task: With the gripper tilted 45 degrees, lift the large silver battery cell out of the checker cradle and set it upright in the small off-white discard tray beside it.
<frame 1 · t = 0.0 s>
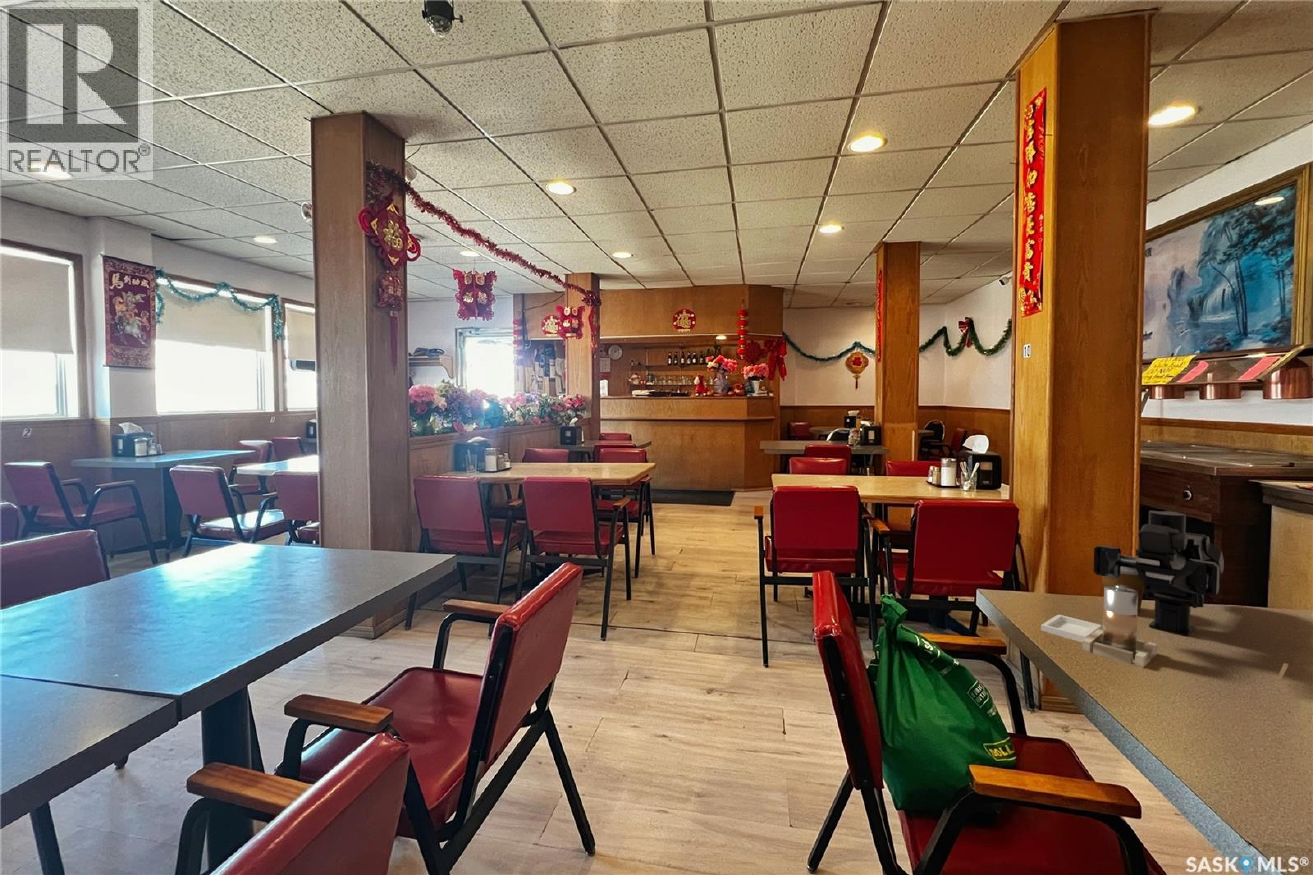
hand: (1140, 576, 106), 17 cm above the table, tool horizontal, fingers open, 9 cm apart
battery cell: (1119, 652, 109), resting on checker cradle
disposable coffee cup: (1122, 610, 133), on the table
discard tray: (1071, 633, 120), on the table
checker cradle: (1119, 654, 109), on the table
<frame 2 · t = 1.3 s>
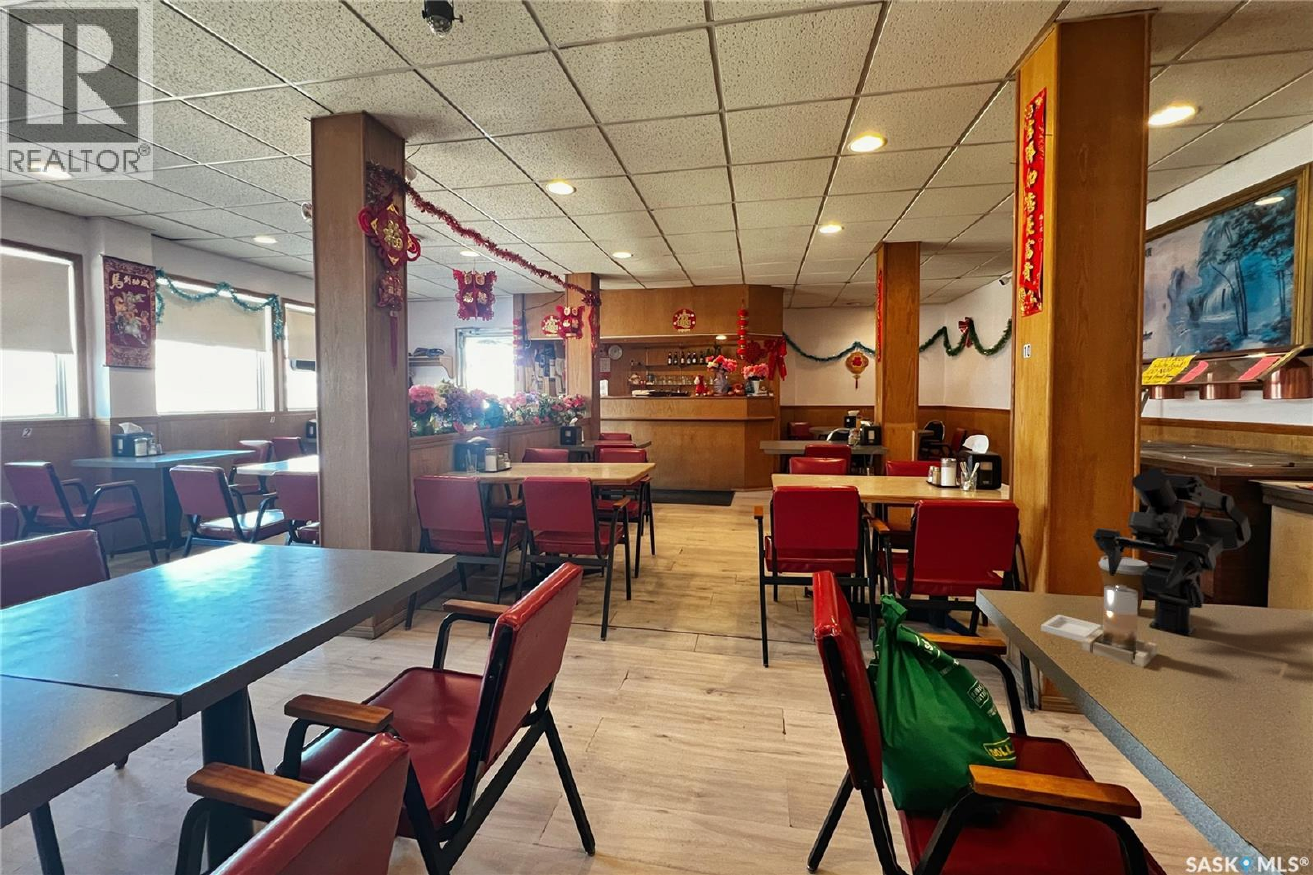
hand: (1138, 580, 112), 14 cm above the table, tool tilted 45°, fingers open, 9 cm apart
nothing on the table moved.
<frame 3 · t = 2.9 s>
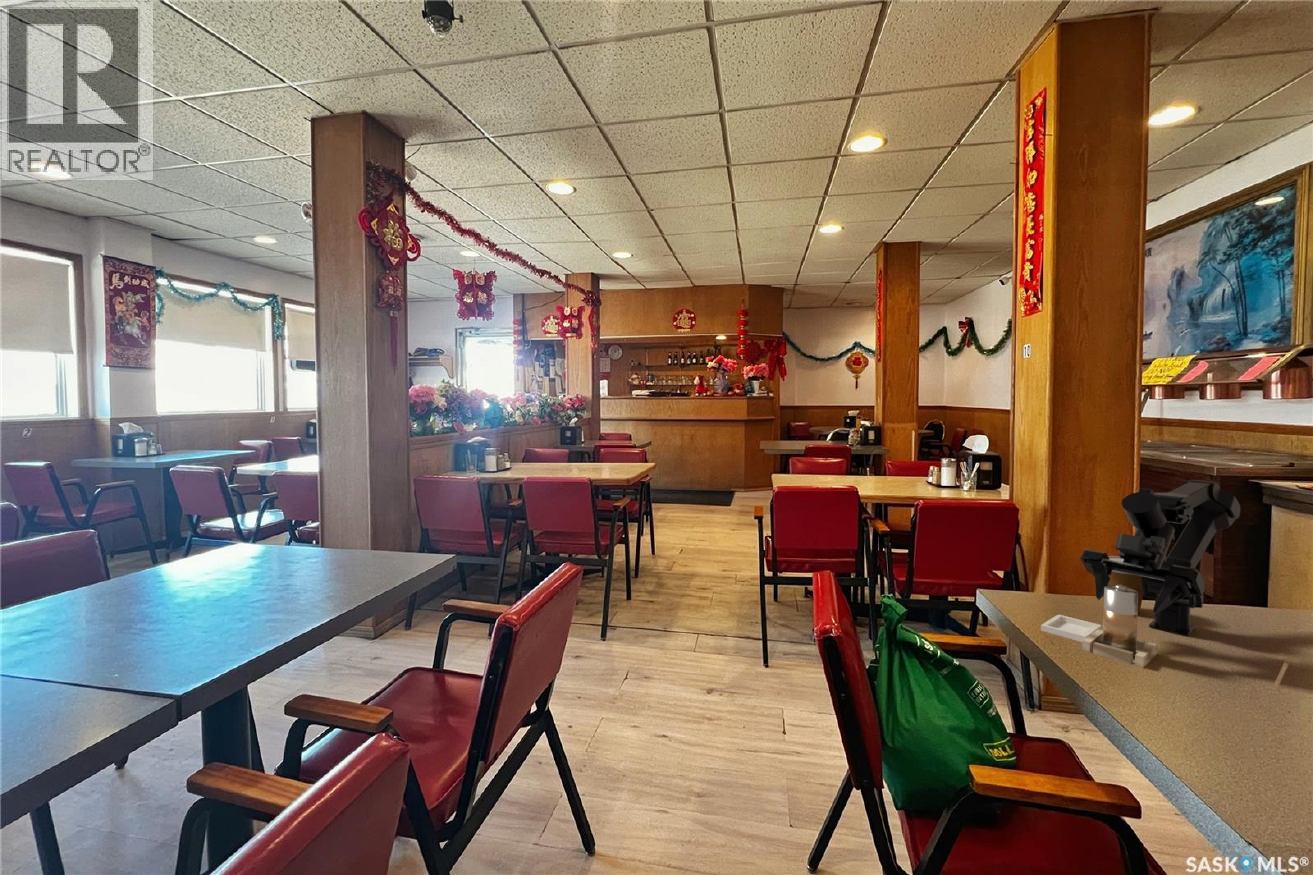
hand: (1125, 605, 110), 10 cm above the table, tool tilted 45°, fingers open, 9 cm apart
nothing on the table moved.
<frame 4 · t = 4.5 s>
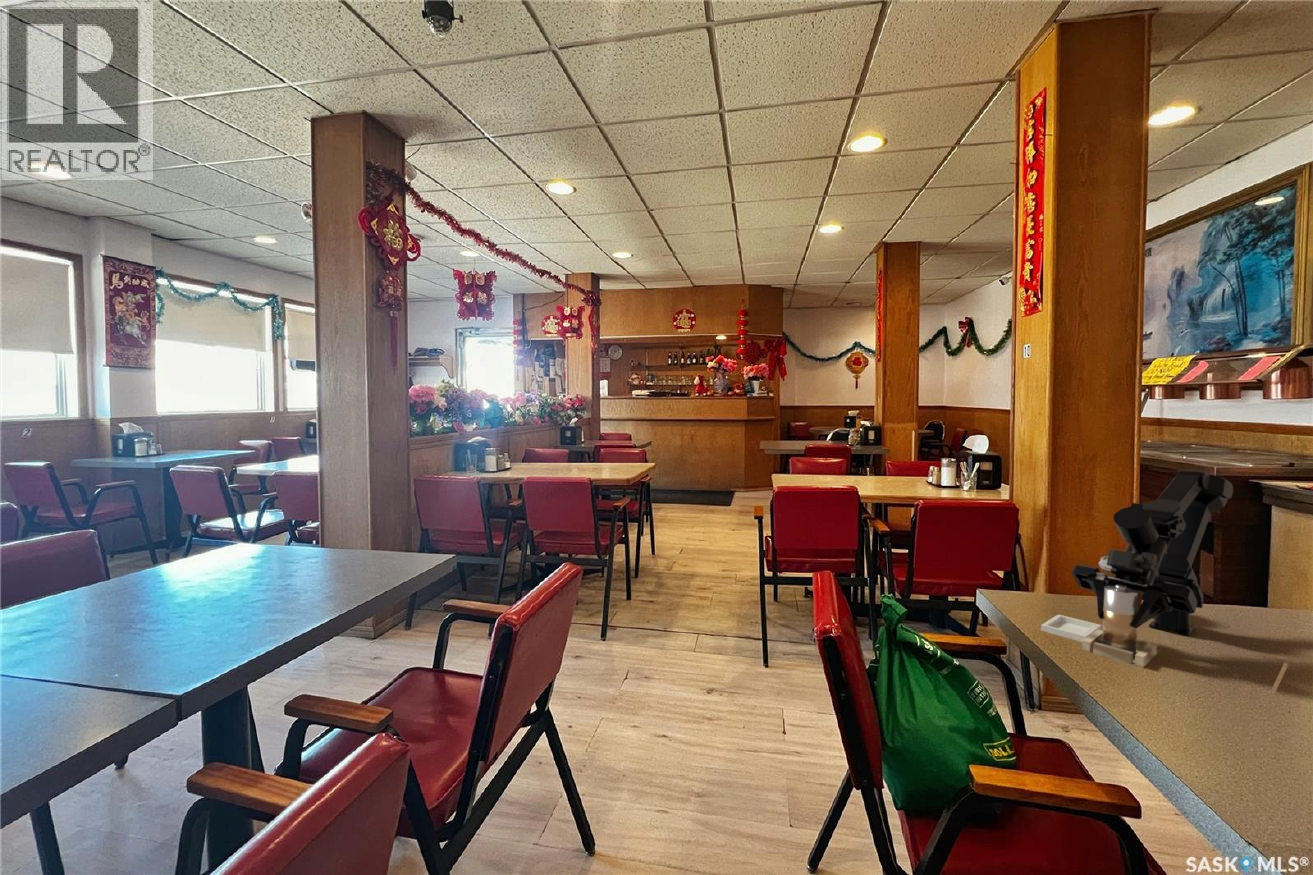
hand: (1116, 622, 108), 7 cm above the table, tool tilted 45°, fingers closed on battery cell, 5 cm apart
battery cell: (1119, 652, 109), point 1 cm above the table, touching checker cradle, gripper
everything else where it was.
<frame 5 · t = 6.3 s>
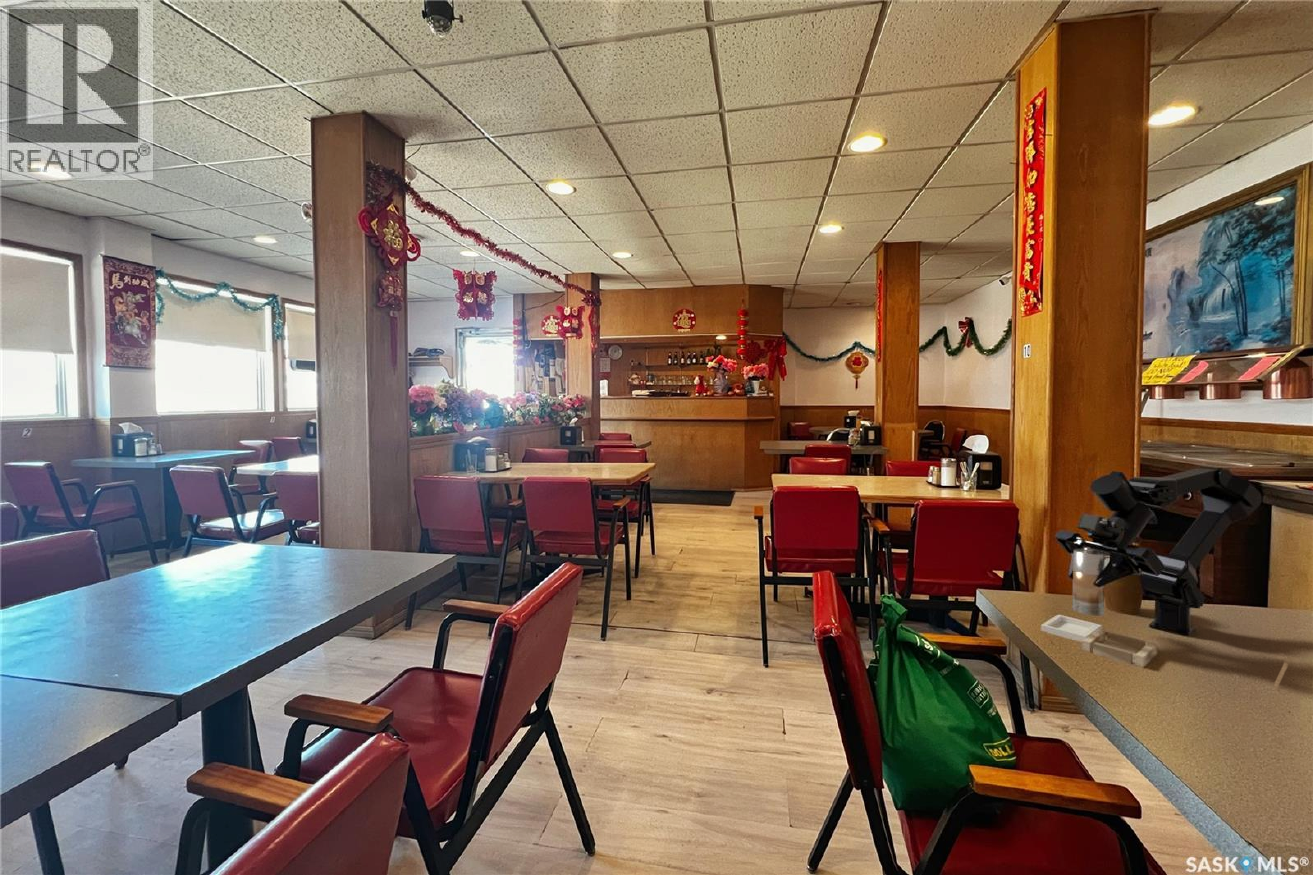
hand: (1083, 581, 114), 13 cm above the table, tool tilted 45°, fingers closed on battery cell, 5 cm apart
battery cell: (1087, 611, 115), point 7 cm above the table, touching gripper
everything else where it was.
when the fingers open (8 cm above the table, at t = 8.2 s): battery cell drops 1 cm, resting on discard tray.
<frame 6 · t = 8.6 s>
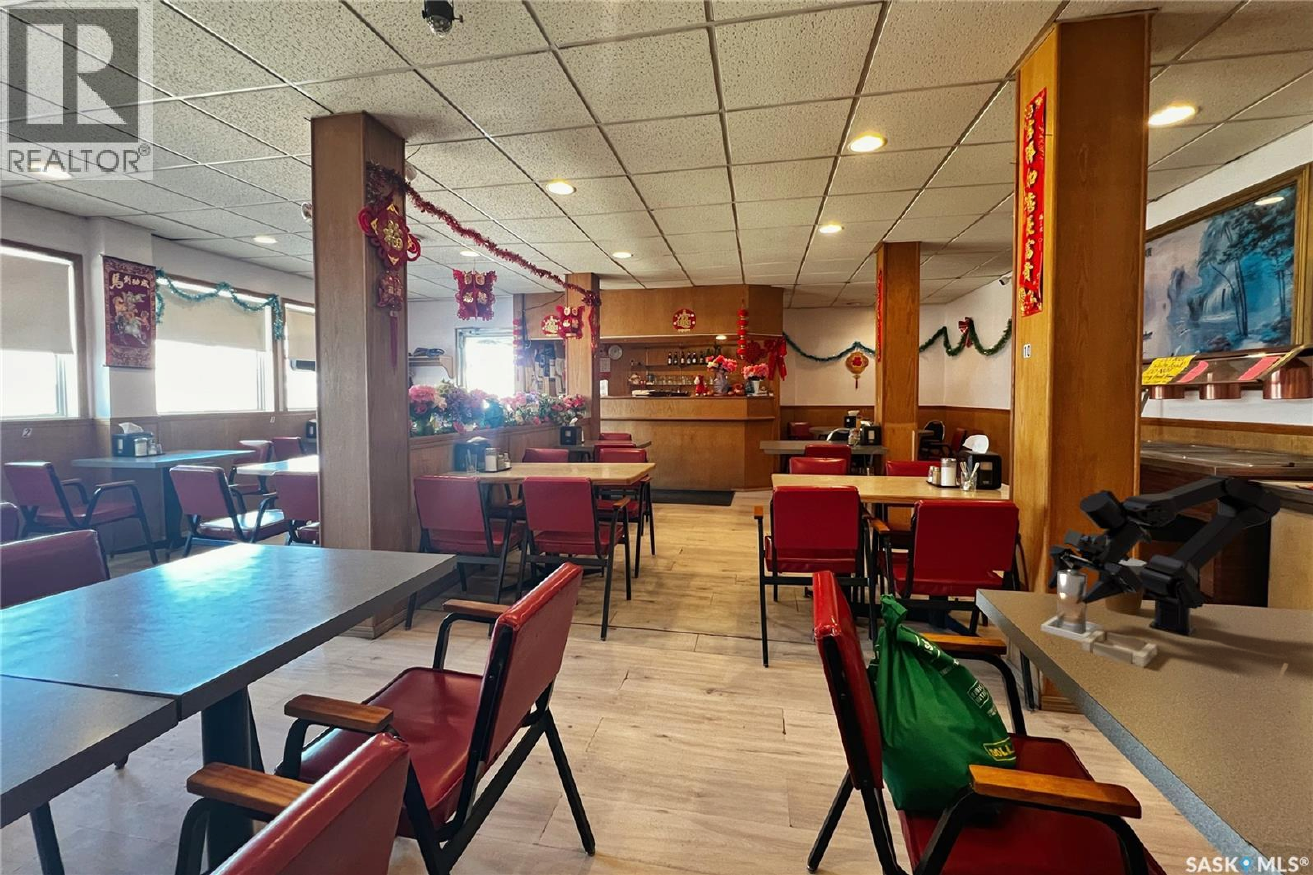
hand: (1065, 594, 119), 9 cm above the table, tool tilted 45°, fingers open, 9 cm apart
battery cell: (1071, 630, 120), point 1 cm above the table, touching discard tray
everything else where it was.
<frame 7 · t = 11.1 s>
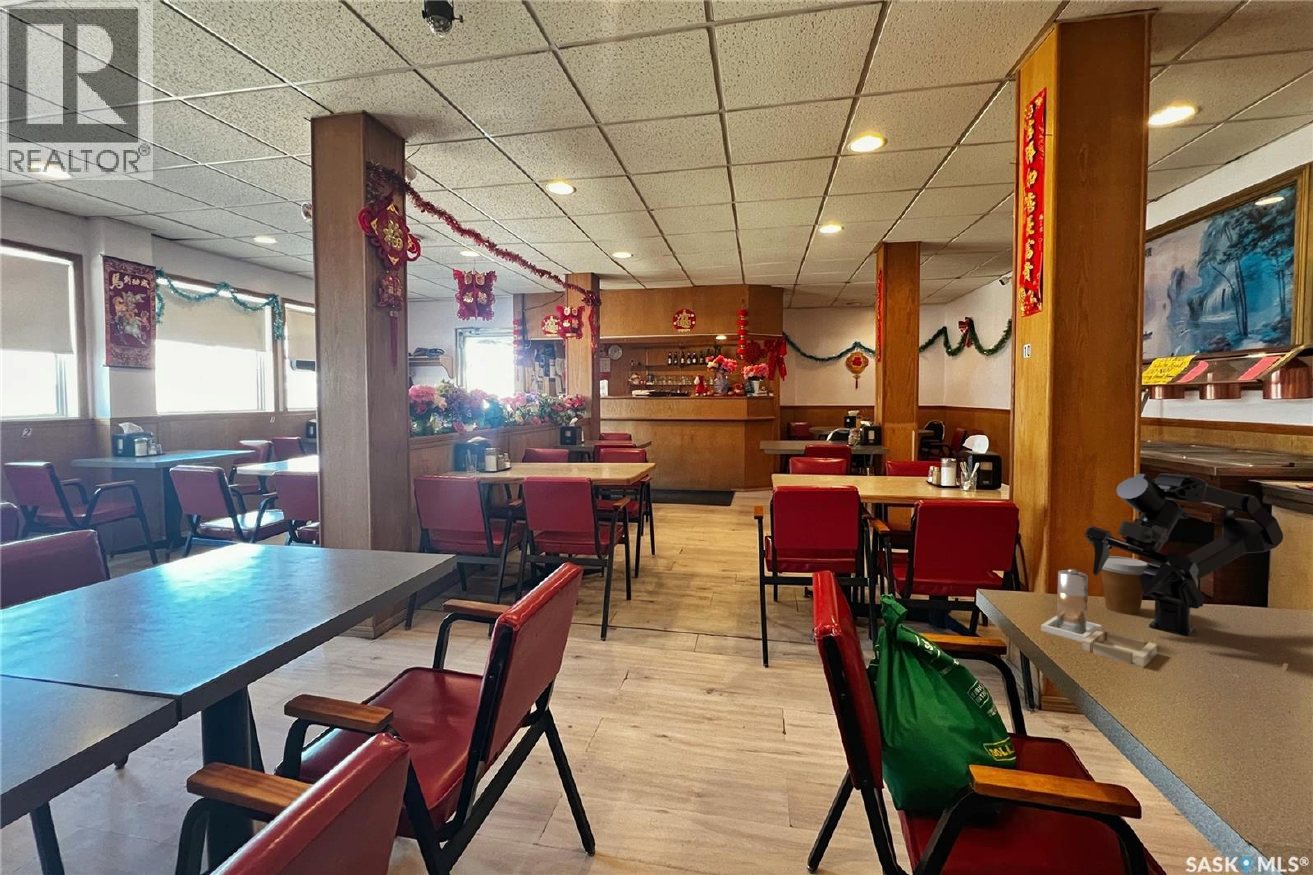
hand: (1118, 584, 118), 11 cm above the table, tool tilted 35°, fingers open, 9 cm apart
nothing on the table moved.
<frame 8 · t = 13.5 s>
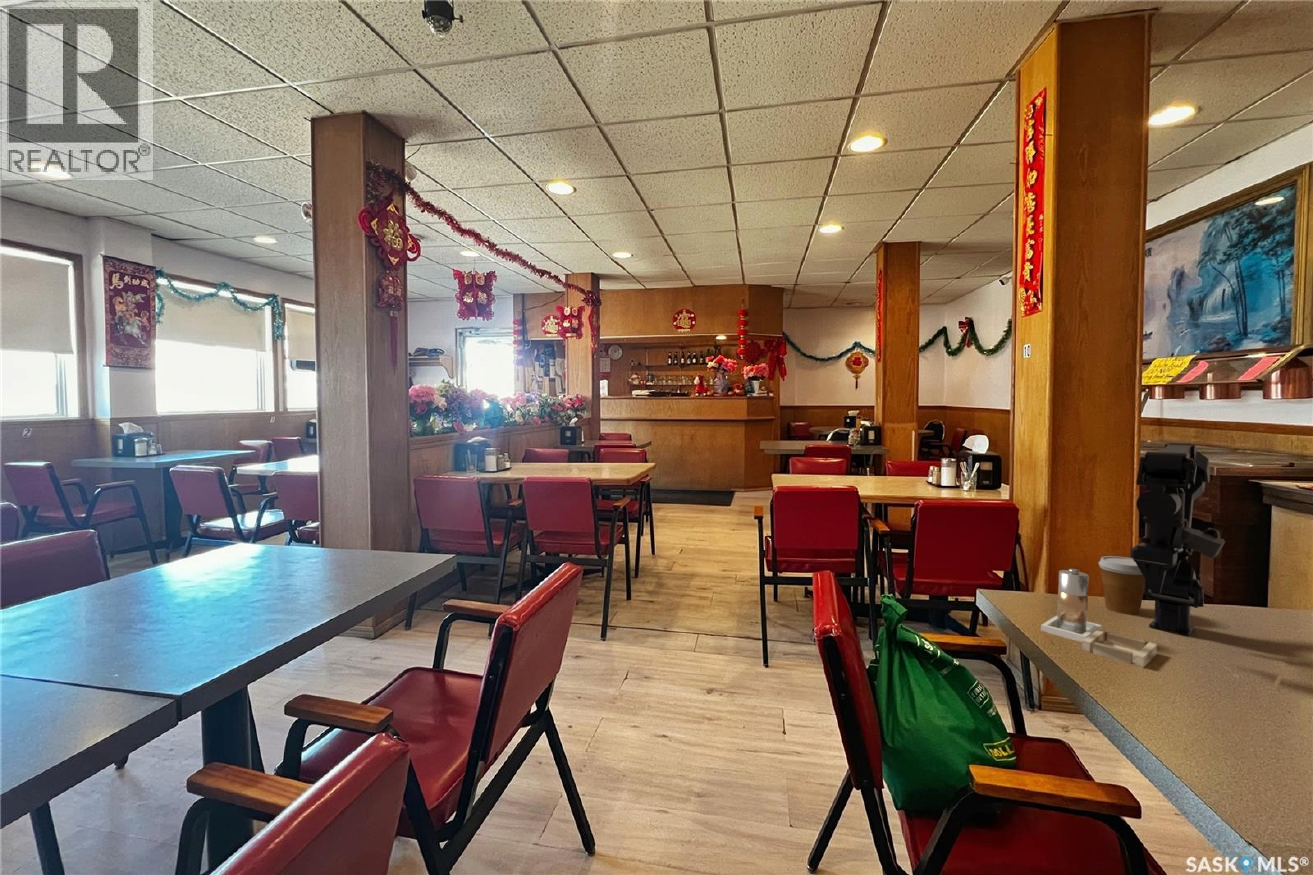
hand: (1162, 589, 112), 12 cm above the table, tool pointing down, fingers open, 9 cm apart
nothing on the table moved.
at the end: battery cell 0.1 cm off-centre on the discard tray, point 0.6 cm above the discard tray's base; battery cell tilted 1°; the gripper is holding nothing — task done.
